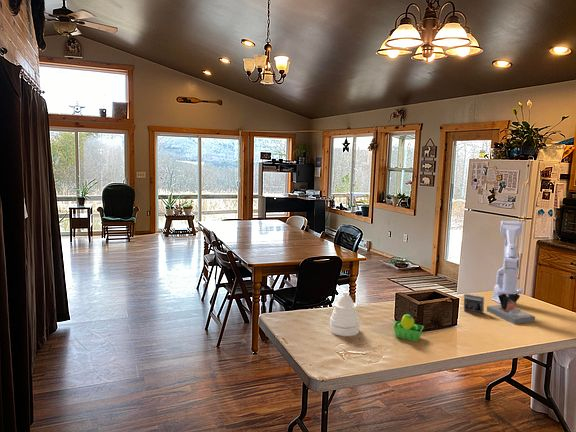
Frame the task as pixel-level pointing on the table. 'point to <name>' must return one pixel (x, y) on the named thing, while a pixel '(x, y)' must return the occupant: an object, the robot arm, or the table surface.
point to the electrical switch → (473, 303)
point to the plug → (509, 305)
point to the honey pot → (344, 317)
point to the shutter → (518, 313)
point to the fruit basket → (407, 328)
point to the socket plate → (508, 315)
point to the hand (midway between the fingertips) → (507, 308)
